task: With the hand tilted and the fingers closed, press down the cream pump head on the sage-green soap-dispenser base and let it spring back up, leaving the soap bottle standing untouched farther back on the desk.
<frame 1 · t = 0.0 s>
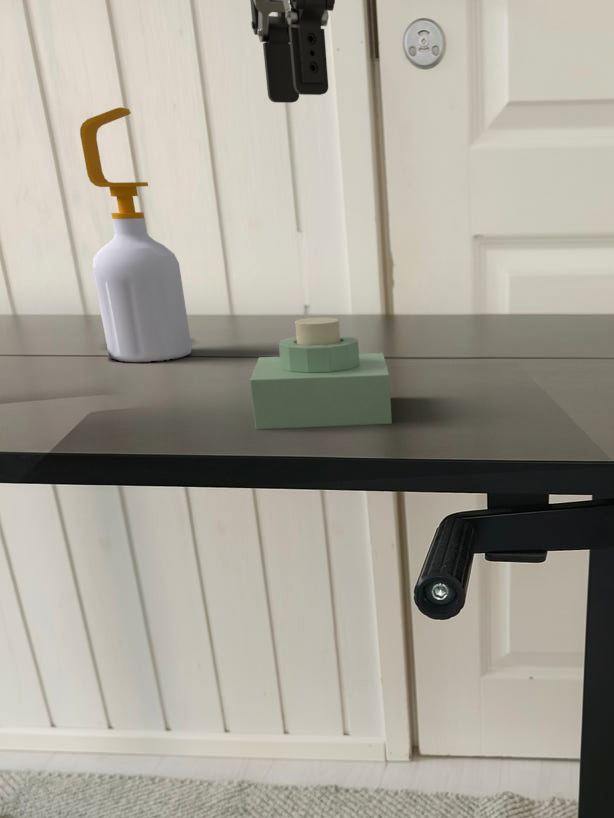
hand: (297, 98, 65), 23 cm above the table, tool pointing down, fingers open, 8 cm apart
dispenser: (324, 412, 79), on the table
pump: (318, 333, 76), point 7 cm above the table, slide at 0.1 cm
soap bottle: (151, 357, 105), on the table
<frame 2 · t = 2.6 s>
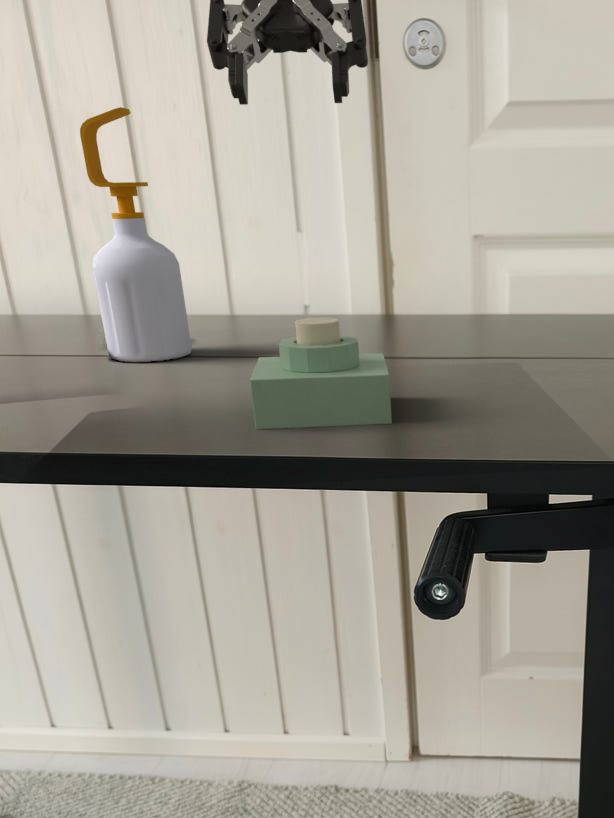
hand: (290, 96, 82), 25 cm above the table, tool tilted 45°, fingers open, 8 cm apart
nothing on the table moved.
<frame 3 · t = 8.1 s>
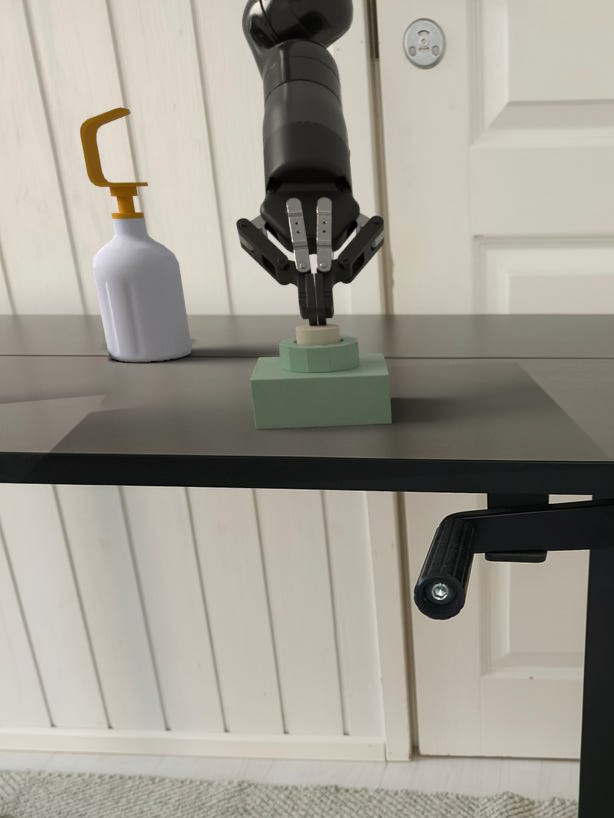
hand: (317, 319, 75), 8 cm above the table, tool tilted 45°, fingers closed
pump: (318, 339, 76), point 6 cm above the table, slide at -0.4 cm, touching gripper
everything else where it was.
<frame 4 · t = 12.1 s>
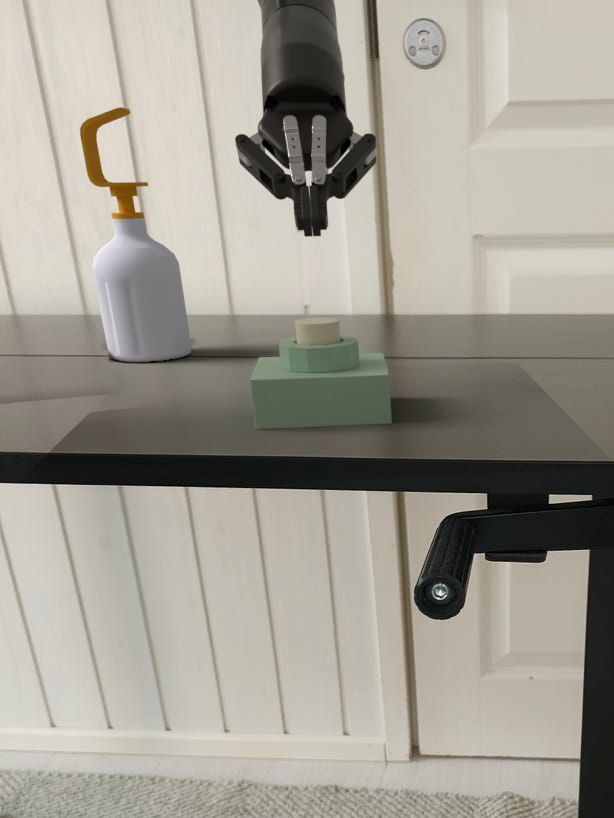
hand: (312, 229, 79), 14 cm above the table, tool tilted 45°, fingers closed
pump: (318, 333, 76), point 7 cm above the table, slide at 0.1 cm
everything else where it was.
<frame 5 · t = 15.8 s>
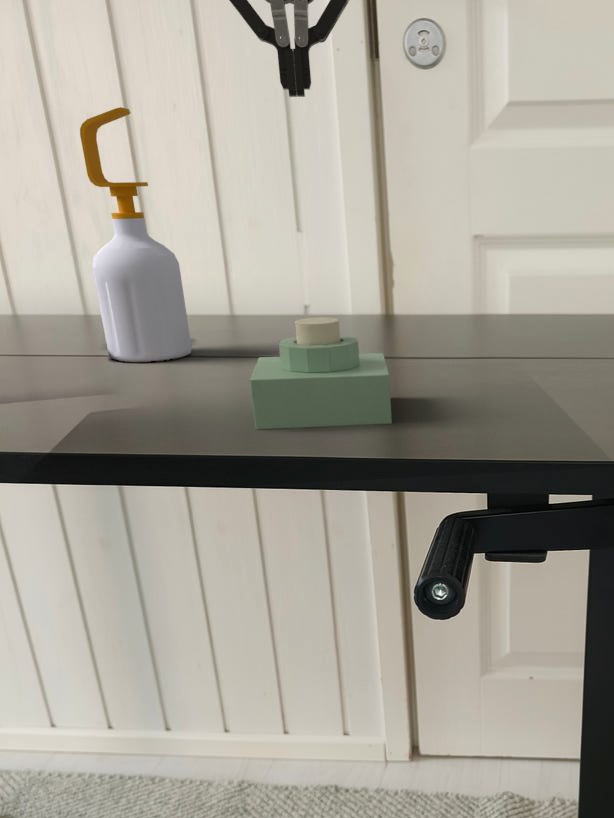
hand: (297, 95, 86), 25 cm above the table, tool pointing down, fingers closed
nothing on the table moved.
at the end: pump pushed in 1.5 cm at the most during the clip, back to where it started at the end; pump slide at 0.1 cm; soap bottle moved 0.2 cm from its start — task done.
